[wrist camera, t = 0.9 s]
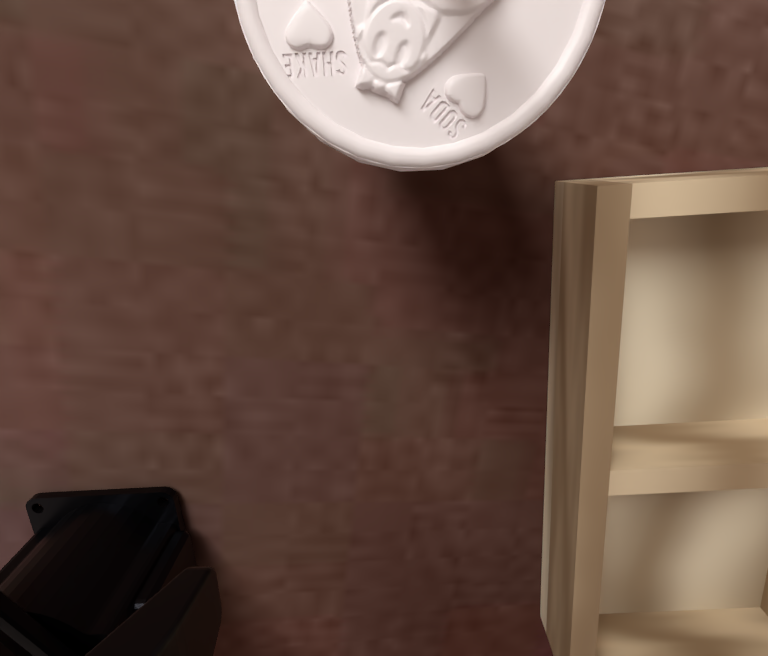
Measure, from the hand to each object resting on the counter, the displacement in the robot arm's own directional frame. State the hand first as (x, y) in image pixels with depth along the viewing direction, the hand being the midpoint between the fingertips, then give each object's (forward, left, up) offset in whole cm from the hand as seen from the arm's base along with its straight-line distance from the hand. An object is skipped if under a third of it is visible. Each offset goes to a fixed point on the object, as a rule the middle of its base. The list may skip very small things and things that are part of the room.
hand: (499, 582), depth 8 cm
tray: (+10, -5, -13) cm, 17 cm away
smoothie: (-1, +9, -13) cm, 16 cm away
